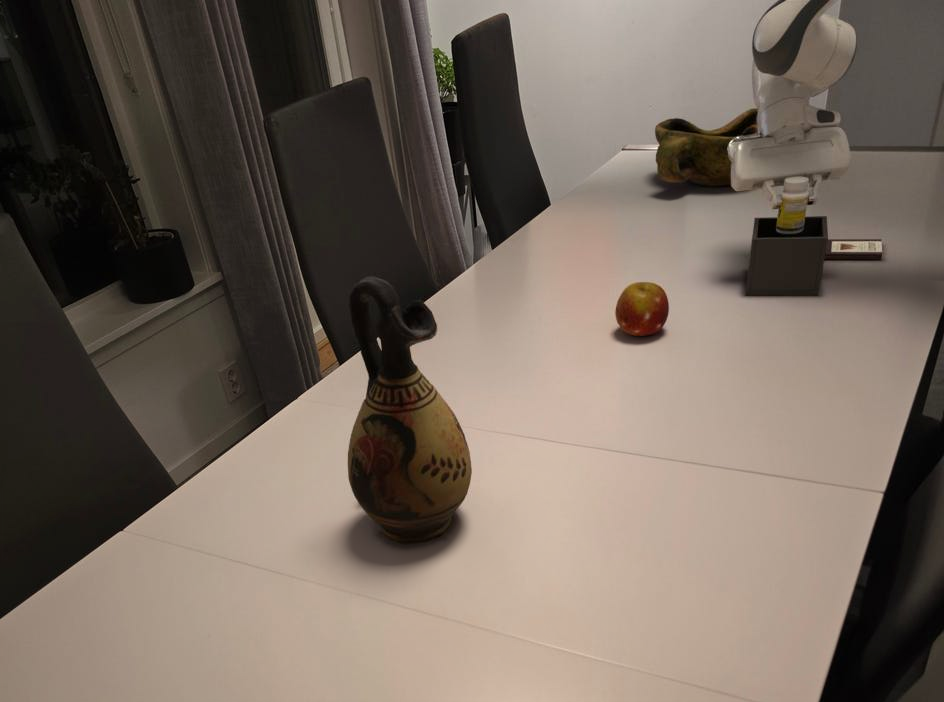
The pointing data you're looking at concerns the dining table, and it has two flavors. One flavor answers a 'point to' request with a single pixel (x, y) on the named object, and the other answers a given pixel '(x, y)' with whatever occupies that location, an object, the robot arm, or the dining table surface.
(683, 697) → the dining table surface
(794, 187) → the supplement bottle
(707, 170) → the bowl
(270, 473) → the dining table surface
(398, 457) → the ceramic jug
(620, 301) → the fruit
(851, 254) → the chocolate bar
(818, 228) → the trash bin
